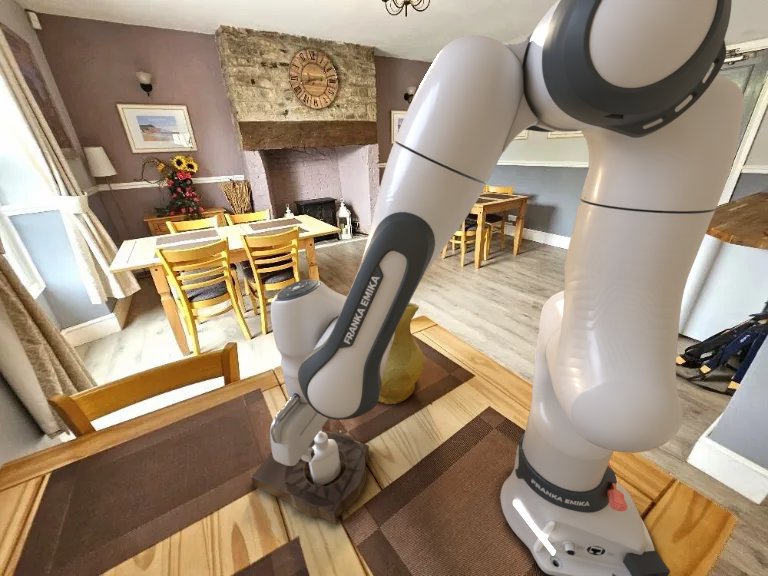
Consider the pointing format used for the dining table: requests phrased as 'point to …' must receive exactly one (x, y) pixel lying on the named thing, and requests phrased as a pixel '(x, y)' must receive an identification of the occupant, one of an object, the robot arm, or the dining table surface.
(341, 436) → the grey ring plate
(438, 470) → the dining table surface
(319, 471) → the eye dropper bottle
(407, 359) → the pitcher
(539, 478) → the robot arm
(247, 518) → the dining table surface
